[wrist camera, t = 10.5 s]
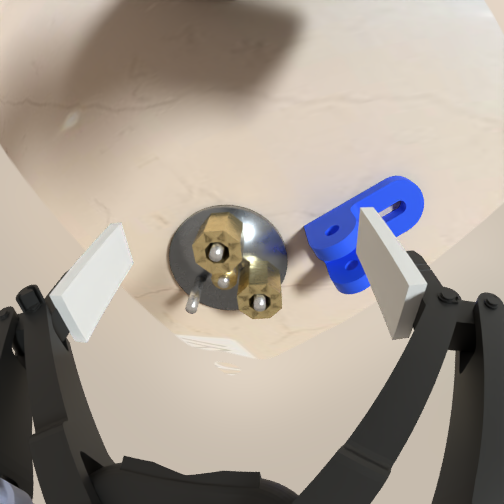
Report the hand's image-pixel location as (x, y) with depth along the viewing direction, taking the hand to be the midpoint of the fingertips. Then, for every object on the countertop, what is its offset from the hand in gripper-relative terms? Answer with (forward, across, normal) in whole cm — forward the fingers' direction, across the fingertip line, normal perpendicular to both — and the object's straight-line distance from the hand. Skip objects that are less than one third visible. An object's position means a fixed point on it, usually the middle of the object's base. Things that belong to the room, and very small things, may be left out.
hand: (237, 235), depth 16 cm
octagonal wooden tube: (+24, -5, -12) cm, 27 cm away
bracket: (+25, +16, -11) cm, 32 cm away
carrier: (+24, -5, -17) cm, 30 cm away
